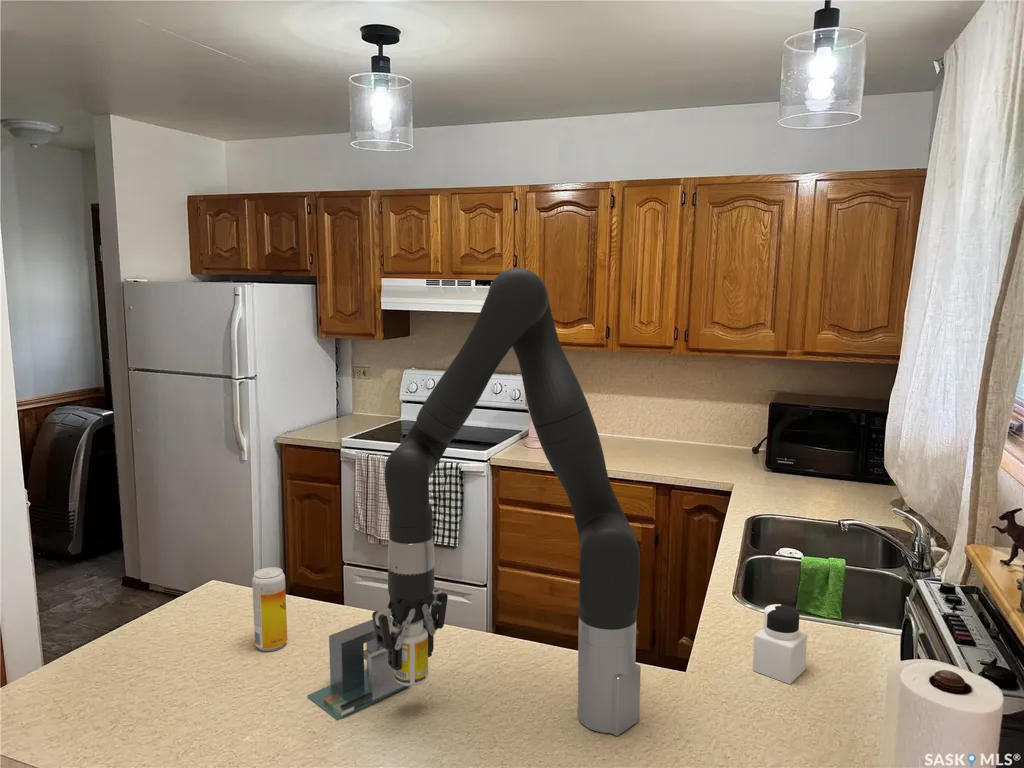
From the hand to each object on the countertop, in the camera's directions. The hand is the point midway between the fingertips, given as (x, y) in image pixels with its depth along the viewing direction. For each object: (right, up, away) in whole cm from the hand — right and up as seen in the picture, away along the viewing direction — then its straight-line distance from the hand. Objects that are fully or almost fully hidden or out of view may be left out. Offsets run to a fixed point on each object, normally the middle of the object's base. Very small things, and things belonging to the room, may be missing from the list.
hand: (411, 661), depth 119 cm
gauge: (-9, -8, +8) cm, 14 cm away
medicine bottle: (+66, -7, +14) cm, 68 cm away
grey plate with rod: (-9, -7, +6) cm, 13 cm away
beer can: (-31, -6, +23) cm, 39 cm away
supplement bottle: (0, -3, 0) cm, 3 cm away
